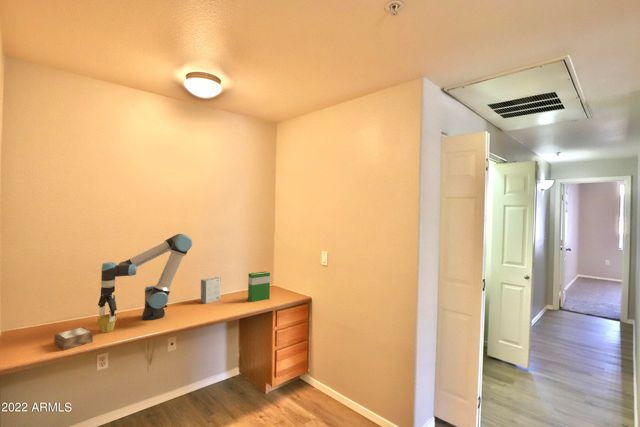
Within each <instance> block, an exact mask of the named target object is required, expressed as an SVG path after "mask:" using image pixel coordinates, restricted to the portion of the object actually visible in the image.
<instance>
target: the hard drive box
mask: <svg viewBox="0 0 640 427" xmlns="http://www.w3.org/2000/svg"><path fill="white" fill-rule="evenodd" d="M221 285H222V284H221V277H218V276H212V277H208V278H203V279H200V302H201V303H202V304H204V305H205V304H210V303H213V302H217V301H220V300H221V298H222V296H221Z"/></svg>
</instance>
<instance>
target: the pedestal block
mask: <svg viewBox="0 0 640 427" xmlns="http://www.w3.org/2000/svg"><path fill="white" fill-rule="evenodd" d="M93 336H94V335H93V331H92V330H90V329H87V328H85V327H83V326H82V327H78V328H74V329H70V330H66V331H61V332H59V333H58V332H57V333H54V337H53V338H54V339H53V341H54V342H53V344H55V345H54V346H56V347H58V348H59V349H61V350H62V351H66V350H70V349H74V348H77V347H80V346H84V345H87V343H88V344H90V343H91V344H92V343H93V340H94V338H93Z"/></svg>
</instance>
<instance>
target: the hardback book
mask: <svg viewBox="0 0 640 427" xmlns="http://www.w3.org/2000/svg"><path fill="white" fill-rule="evenodd" d="M247 274H248V275H247V276H248V280H247V281H248V282H247V286H248V287H247V301H249V302H250V303H255V302H256V303H257V302H261V301H265V300H270V291H271V290H270V288H271V286H270V284H271V283H270V282H271V272H267V271H260V272H259V271H257V272H250V273H247Z"/></svg>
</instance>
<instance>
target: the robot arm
mask: <svg viewBox="0 0 640 427" xmlns="http://www.w3.org/2000/svg"><path fill="white" fill-rule="evenodd" d="M192 246H193V240H192V238H191V237H190V236H189V235H187V234H182V233H177V234H174V235H172V236H171V237H169V238H168V239H165V240H164V241H163V242H162V243H160V244H158V245H156V246H154V247H151V248H149V249H148V250H146V251H144V252H141V253H139V254H137V255H135V256H133V257H131V258H129V259H126V260H125V261H120V262H119V263H118V264H117V263H116V262H113V261H112V262H111V261H110V262H104V263H102V265H101V277H100V278H101V279H100V280H101V282H100V287H101V288H100V297H99V300H98V304H97V305H98V307H99V316H102V315H106V314H105V313H106V312H105V311H106V303H107V305H108V308H109V311H108V312H109V313H108V314H109V322H111V321H114V317H115V314H116V313H115V312H116V311H117V310H118V309H117V302H116V295H115V294H113V293H115V291H116V278H117V277H119V278H120V277H127V276H128V277H132V276H135V275H137V271H138V270H137V268H138V267H141V266H142V265H144V264H146V263H148V262H150V261H152V260H154V259H156V258H157V257H160V256H161V255H164V254H166V253H168V252H170V254H169V256H168V259H167V261H166V264H165V266H164V268H163V269H162V272H161V274H160V277H159V279H158V281H157V283H156V284H155V285H149V286H145V288H144V308H143V310H142V313H141V319H142V320H145V321H153V320H158V319H161V318H164V317H165V315H166V313H165V308H164V307H165V306H166V305H167V304H168V303H169V295H170V293H171V289H170V287H171V285H172V283H173V281H174V278H175V276H176V273H177V271H178V269H179V266H180V264H181V262H182V259H183V257H185V256H186V255H187V253H188V251H190V249H192ZM99 316H98V317H99Z"/></svg>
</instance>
